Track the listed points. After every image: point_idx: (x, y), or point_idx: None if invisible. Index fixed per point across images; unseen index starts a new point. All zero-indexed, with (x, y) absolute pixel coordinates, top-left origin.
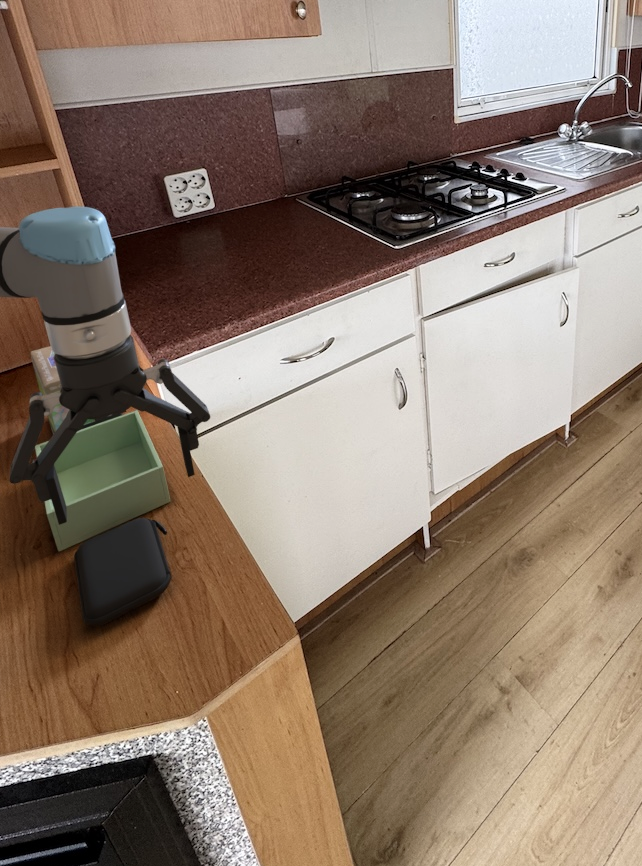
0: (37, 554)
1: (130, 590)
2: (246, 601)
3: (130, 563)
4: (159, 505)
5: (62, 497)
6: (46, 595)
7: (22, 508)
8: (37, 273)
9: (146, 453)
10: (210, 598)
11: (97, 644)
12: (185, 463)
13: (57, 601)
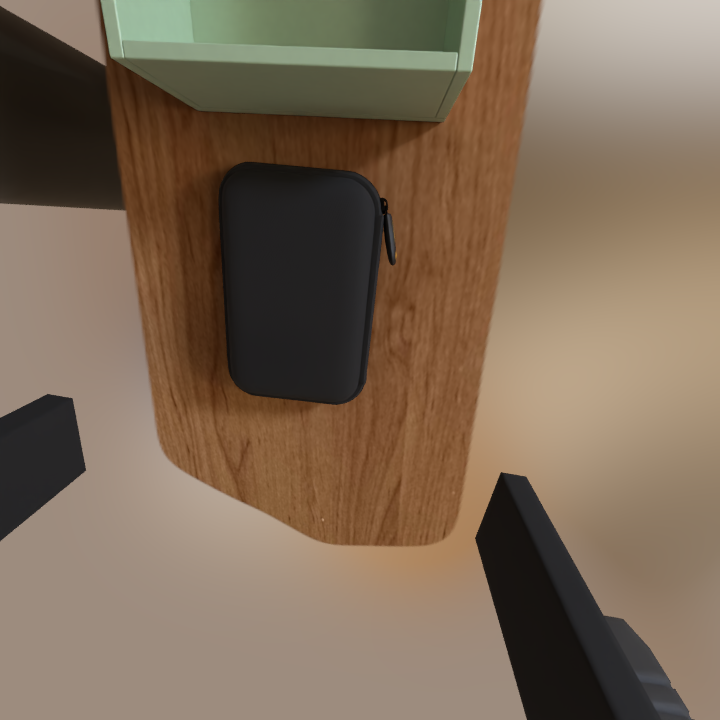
0: None
1: (296, 392)
2: (438, 476)
3: (307, 332)
4: (417, 119)
5: (1, 473)
6: (181, 235)
7: None
8: None
9: None
10: (401, 437)
11: (251, 397)
12: (496, 592)
13: (199, 266)
